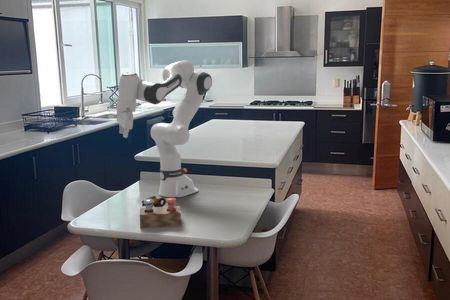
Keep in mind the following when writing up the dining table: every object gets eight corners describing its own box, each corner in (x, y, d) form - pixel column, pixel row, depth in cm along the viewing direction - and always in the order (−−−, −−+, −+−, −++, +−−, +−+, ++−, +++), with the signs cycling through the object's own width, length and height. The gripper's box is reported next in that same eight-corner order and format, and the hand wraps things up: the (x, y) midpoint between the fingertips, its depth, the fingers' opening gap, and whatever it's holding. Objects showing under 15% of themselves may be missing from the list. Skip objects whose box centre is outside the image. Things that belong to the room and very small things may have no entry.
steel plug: (154, 212, 212) (153, 198, 211) (154, 216, 208) (153, 201, 207) (144, 213, 212) (143, 199, 211) (143, 216, 207) (143, 202, 206)
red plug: (176, 211, 214) (175, 197, 212) (176, 214, 209) (176, 200, 208) (166, 212, 213) (165, 197, 212) (166, 215, 209) (165, 200, 207)
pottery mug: (147, 216, 223) (140, 200, 224) (145, 218, 231) (139, 203, 233) (170, 206, 226) (164, 191, 228) (167, 209, 235) (161, 194, 237)
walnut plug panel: (179, 218, 218) (179, 205, 216) (181, 225, 208) (180, 212, 207) (140, 220, 215) (140, 207, 214) (140, 227, 205) (139, 215, 204)
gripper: (137, 110, 212) (134, 140, 215) (128, 104, 231) (125, 131, 233) (123, 109, 210) (120, 139, 212) (115, 103, 228) (112, 131, 230)
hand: (123, 135), depth 223 cm, fingers open, 8 cm apart
